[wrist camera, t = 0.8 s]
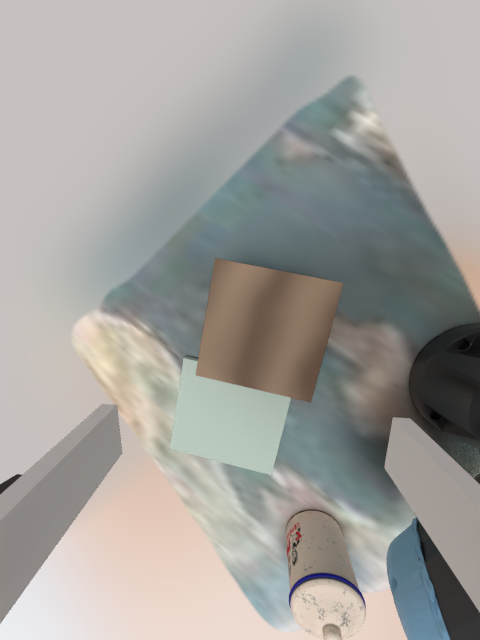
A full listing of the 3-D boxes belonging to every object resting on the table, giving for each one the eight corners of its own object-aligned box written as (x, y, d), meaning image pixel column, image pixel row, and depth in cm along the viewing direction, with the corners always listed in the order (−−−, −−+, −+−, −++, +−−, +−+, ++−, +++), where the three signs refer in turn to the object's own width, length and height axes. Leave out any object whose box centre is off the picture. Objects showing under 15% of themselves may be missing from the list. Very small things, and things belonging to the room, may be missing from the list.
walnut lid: (337, 282, 21) (343, 283, 19) (307, 394, 23) (310, 402, 21) (218, 259, 22) (215, 258, 20) (199, 369, 24) (195, 375, 22)
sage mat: (293, 380, 33) (294, 383, 32) (271, 469, 36) (271, 475, 35) (186, 355, 34) (183, 358, 34) (172, 444, 37) (169, 448, 36)
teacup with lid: (285, 504, 37) (293, 605, 25) (345, 511, 36) (382, 618, 24) (282, 566, 39) (288, 685, 27) (339, 574, 38) (370, 700, 26)
